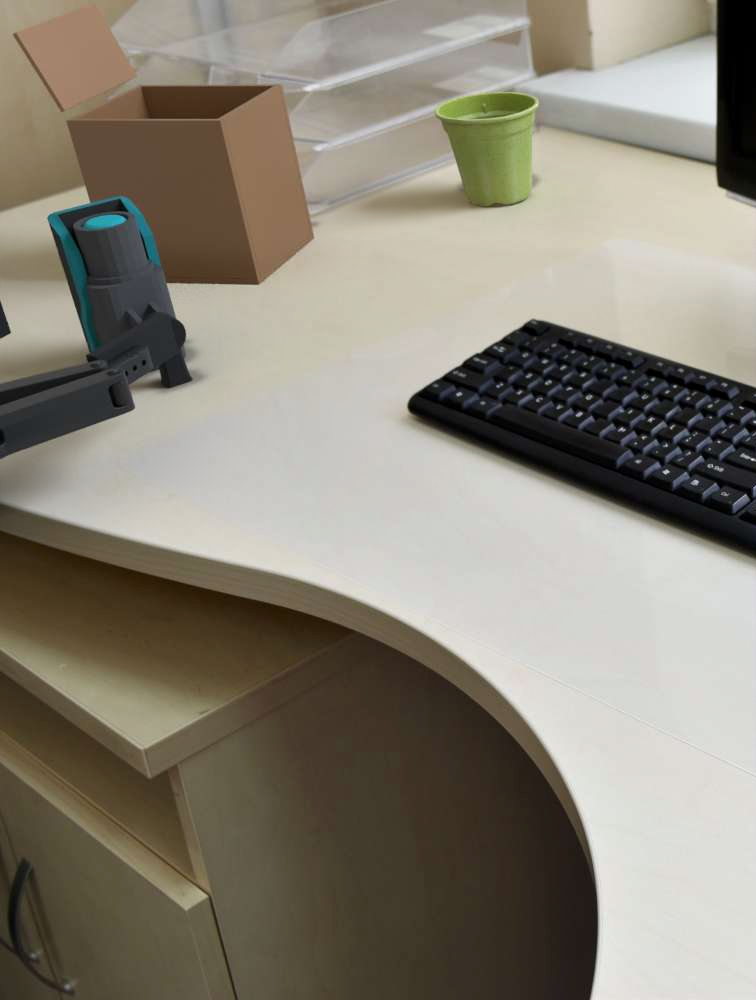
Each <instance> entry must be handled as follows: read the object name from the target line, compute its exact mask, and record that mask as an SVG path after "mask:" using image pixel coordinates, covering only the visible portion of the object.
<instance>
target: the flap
mask: <svg viewBox="0 0 756 1000" xmlns="http://www.w3.org/2000/svg"><path fill="white" fill-rule="evenodd" d="M12 36H13V38H14V39H15V41H16V42H17V44H18V46H19V47H20V49H21V50H22V52H23V54H24V55H25V57H26V59H27V60H28V61H29V63H30V64H31V66H32V68H33V69H34V71H35V73H36V74H37V76H38V77H39V79H40V81H41V82H42V84H43V86H44V87H45V89H46V90H47V92H48V94H49V95H50V97H51V99H52V100H53V101H54V103H55V104H56V106H57V107H58V109H59V111H60V112H61V113H63V112H66V111H68V110H70V109H72V108H74V107H76V106H78V105H81V104H82V103H85V102H87V101H89V100H91V99H93V98H95V97H97V96H99V95H102V94H103V93H105V92H108V91H110V90H111V89H114V88H116V87H118V86H121V85H122V84H124V83H126V82H128V81H131V80H133V79H135V78H137V77H138V74H137V72H136V70H135V69H134V67H133V66H132V64H131V62H130V60H129V59H128V58H127V55H126V53H125V52H124V50H123V49H122V47H121V46H120V44H119V42H118V40H117V38H116V37H115V35H114V34H113V32H112V30H111V29H110V27H109V25H108V24H107V22H106V20H105V19H104V17H103V15H102V13H101V12H100V10H99V8H98V6H97V5H96V4H95V3H90V4H88V5H86V6H83V7H80V8H78V9H75V10H72V11H70V12H67V13H64V14H62V15H59V16H56V17H54V18H51V19H48V20H45V21H42V22H40V23H37V24H35V25H32V26H29V27H26V28H24V29H21V30H18V31H16V32H14V33H12Z"/></svg>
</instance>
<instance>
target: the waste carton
mask: <svg viewBox="0 0 756 1000" xmlns="http://www.w3.org/2000/svg"><path fill="white" fill-rule="evenodd" d="M290 121H291V120H290V117H289V111H288V107H287V102H286V97H285V93H284V88H283V85H282V83H281V84H280V83H278V84H276V83H273V84H272V83H271V84H270V83H269V84H268V83H265V84H263V83H262V84H261V83H260V84H259V83H258V84H257V83H256V84H252V83H251V84H250V83H249V84H246V83H245V84H243V83H241V84H235V83H233V84H137V85H135V86H133V87H131V88H129V89H128V90H126V91H124V92H122V93H120V94H118V95H115V96H113V97H111V98H109V99H107V100H104V101H103V102H101V103H99V104H96V105H95V106H93V107H91V108H88V109H86V110H85V111H83V112H81V113H78V114H77V115H75V116H73V117H70V118H69V119H67V120H66V125H67V128H68V132H69V135H70V138H71V142H72V144H73V145H72V146H73V148H74V152H75V155H76V159H77V163H78V165H79V169H80V173H81V176H82V180H83V182H84V186H85V190H86V193H87V197H88V199H89V203H93V202H97V201H101V200H105V199H109V198H112V197H118V196H123V197H126V198H128V199H129V200H131V201H132V202H133V204H134V205H135V206H136V207H137V209H138V210H139V211H140V212H141V214H142V215H143V217H144V219H145V221H146V222H147V224H148V226H149V228H150V230H151V232H152V234H153V237H154V241H155V244H156V248H157V252H158V255H159V259H160V262H161V266H162V269H163V272H164V276H165V279H166V283H167V284H206V285H207V284H209V285H210V284H211V285H260V284H261V283H263V282H264V281H265V280H267V279H268V278H269V277H270V276H271V275H272V274H274V273H275V272H276V271H277V270H278V269H279V268H280V267H282V266H283V265H285V263H286V262H288V261H289V260H290V259H291V258H293V256H295V255H296V254H297V253H298V252H299V251H301V250H302V249H303V248H305V246H307V245H308V244H309V243H310V242H311V241H312V240H314V239H315V235H314V230H313V225H312V221H311V215H310V211H309V206H308V202H307V197H306V193H305V187H304V182H303V178H302V173H301V169H300V163H299V159H298V154H297V150H296V145H295V140H294V135H293V130H292V126H291V122H290Z"/></svg>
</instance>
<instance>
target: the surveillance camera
mask: <svg viewBox="0 0 756 1000" xmlns="http://www.w3.org/2000/svg"><path fill="white" fill-rule="evenodd" d="M47 222H48V226H49V228H50V231H51V234H52V237H53V240H54V244H55V248H56V250H57V253H58V257H59V260H60V264H61V266H62V269H63V272H64V276H65V279H66V282H67V286H68V288H69V290H70V295H71V298H72V302H73V304H74V307H75V311H76V314H77V317H78V320H79V323H80V326H81V327H80V328H81V329H82V333H83V336H84V339H85V343H86V346H87V348H88V349H87V350H88V352H89V353H91V352H92V351H94V350H96V349H97V348H99V347H101V346H103V345H104V344H106V343H108V342H110V341H111V340H113V339H115V338H116V337H118V336H120V335H122V334H123V333H125V332H127V331H128V330H130V329H132V328H134V327H135V326H137V325H139V324H141V323H142V322H144V321H146V320H147V319H149V318H151V317H153V316H154V315H156V314H158V313H163V314H168V315H169V318H170V322H171V325H172V329H173V333H174V336H175V340H176V344H177V347H178V351H179V354H177V355H176V356H174V357H172V358H171V359H169V360H168V361H166V362H164V363H163V364H161V365H160V366H158V367H156V368H155V369H153V370H152V371H155V370H158V369H159V374H160V378H161V380H160V381H161V382H160V385H161V386H162V387H163V388H165V389H172V388H175V387H178V386H181V385H182V386H183V385H185V384H187V383H191V382H192V381H193V380H194V378H193V377H192V375H191V374H190V372H189V368H188V367H187V366H188V365H187V364H186V363H187V362H186V360H185V358H186V357H187V353H186V349H185V345H184V344H185V343H186V340H187V339H186V338H187V329H186V328H185V324H183V323H182V321H180V320H179V319H178V318H177V316H176V312H175V309H174V305H173V302H172V298H171V293H170V290H169V286H168V283H166V279H165V276H164V272H163V269H162V266H161V262H160V259H159V255H158V252H157V248H156V244H155V241H154V237H153V234H152V232H151V230H150V228H149V226H148V224H147V222H146V221H145V219H144V217H143V215H142V214H141V212H140V211H139V210H138V209H137V207H136V206H135V205H134V204H133V202H132V201H131V200H129V199H128V198H126V197H123V196H118V197H112V198H109V199H105V200H101V201H97V202H93V203H90V202H89V203H85V204H82V205H77V206H74V207H70V208H65V209H62V210H58V211H57V210H56V211H54V212H51V213H50V214H48V216H47Z"/></svg>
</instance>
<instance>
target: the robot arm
mask: <svg viewBox="0 0 756 1000" xmlns="http://www.w3.org/2000/svg"><path fill="white" fill-rule="evenodd" d="M10 334H12V330H11V327H10V324H9V322H8V319H7V315H6V313H5V311H4V307H3V305H2V302H1V300H0V340H1V339H3V338H4V337H7V336H9V335H10ZM177 354H179V351H178V347H177V344H176V340H175V336H174V333H173V329H172V325H171V322H170V318H169V315H168V314H163V313H158V314H156V315H154V316H153V317H151V318H149V319H147V320H146V321H144V322H142V323H141V324H139V325H137V326H135V327H134V328H132V329H130V330H128V331H127V332H125V333H123V334H122V335H120V336H118V337H116V338H115V339H113V340H111V341H110V342H108V343H106V344H104V345H103V346H101V347H99V348H97V349H96V350H94V351H92V352H91V353H90V352H89V353H87V354H86V355H85V357H86V361H87V362H85V363H81V364H77V365H73V366H66V367H63V368H60V369H59V368H58V369H54V370H50V371H46V372H43V373H38V374H34V375H30V376H26V377H25V376H24V377H21V378H17V379H12V380H9V381H4V382H0V460H2V459H4V458H7V457H8V456H10V455H13V454H16V453H19V452H21V451H24V450H27V449H29V448H32V447H35V446H39V445H40V444H41V445H42V444H43V443H47V442H49V441H52V440H55V439H58V438H60V437H63V436H66V435H69V434H72V433H74V432H77V431H80V430H82V429H86V428H88V427H91V426H94V425H97V424H100V423H102V422H105V421H109V420H111V419H113V418H116V417H119V416H122V415H125V414H127V413H130V412H132V411H134V410H135V409H136V404H135V402H134V398H133V394H132V391H131V388H130V385H131V384H132V383H134V382H135V381H137V380H139V379H141V378H143V376H145V375H147V374H149V373H150V372H153V371H154V370H153V369H155V368H156V367H158V366H160V365H161V364H163V363H164V362H166V361H168V360H169V359H171V358H172V357H174V356H176V355H177ZM155 370H156V369H155Z"/></svg>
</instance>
